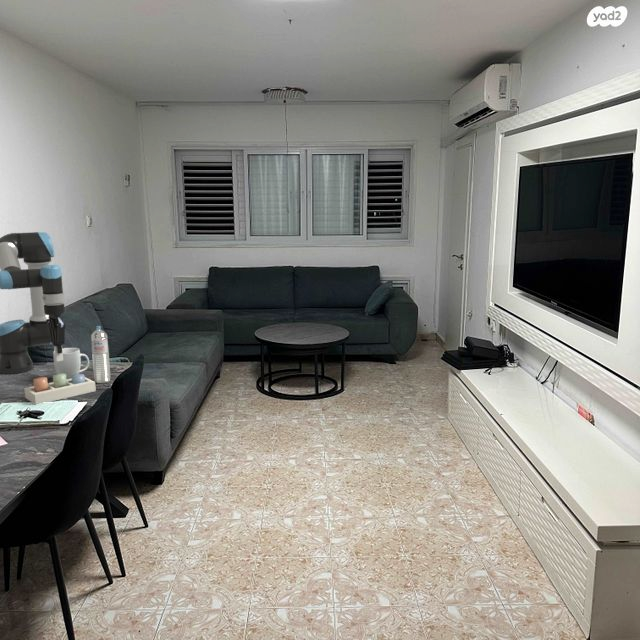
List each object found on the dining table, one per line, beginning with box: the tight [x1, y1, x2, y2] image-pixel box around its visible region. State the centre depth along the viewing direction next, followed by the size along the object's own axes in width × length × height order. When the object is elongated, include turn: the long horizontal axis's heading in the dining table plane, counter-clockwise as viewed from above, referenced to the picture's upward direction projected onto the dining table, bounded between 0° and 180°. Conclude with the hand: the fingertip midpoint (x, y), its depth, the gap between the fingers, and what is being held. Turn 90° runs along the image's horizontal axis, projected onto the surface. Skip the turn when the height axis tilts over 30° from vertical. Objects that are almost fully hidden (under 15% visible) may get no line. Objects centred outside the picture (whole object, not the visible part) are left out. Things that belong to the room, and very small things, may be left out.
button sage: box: [52, 373, 67, 388], centre depth 237 cm, size 5×5×5 cm
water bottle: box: [90, 325, 111, 384], centre depth 253 cm, size 7×7×25 cm
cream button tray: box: [23, 376, 97, 405], centre depth 238 cm, size 12×24×4 cm, turn 135°
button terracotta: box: [32, 376, 48, 393], centre depth 232 cm, size 5×5×5 cm
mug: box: [52, 347, 90, 380], centre depth 260 cm, size 15×11×13 cm
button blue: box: [72, 373, 86, 384], centre depth 243 cm, size 5×5×5 cm
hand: (59, 360), depth 236 cm, fingers closed
